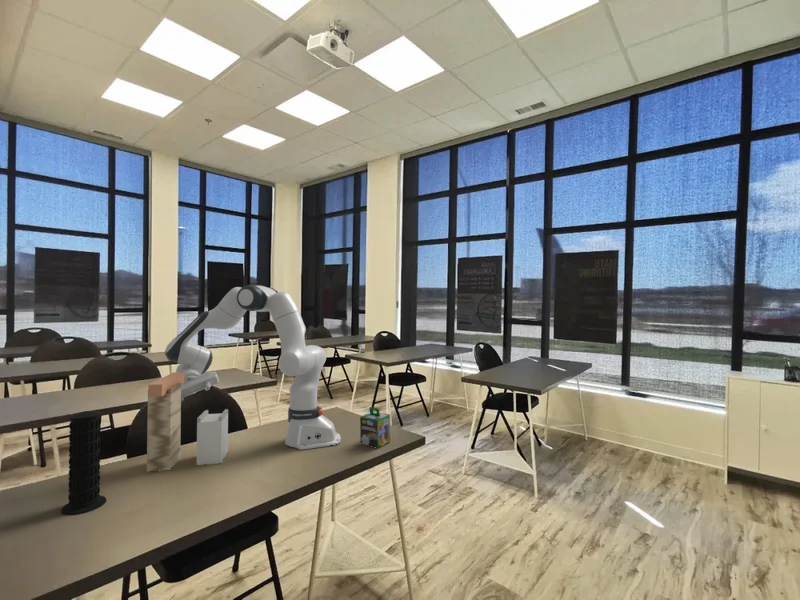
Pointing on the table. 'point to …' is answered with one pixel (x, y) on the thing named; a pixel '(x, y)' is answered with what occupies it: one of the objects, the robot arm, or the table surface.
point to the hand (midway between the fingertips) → (194, 393)
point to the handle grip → (84, 464)
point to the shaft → (165, 384)
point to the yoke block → (212, 437)
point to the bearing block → (164, 430)
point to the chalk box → (375, 428)
